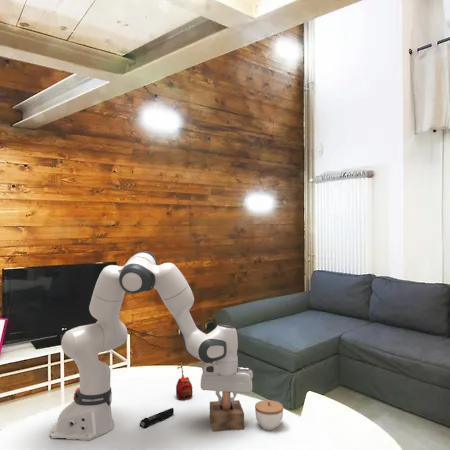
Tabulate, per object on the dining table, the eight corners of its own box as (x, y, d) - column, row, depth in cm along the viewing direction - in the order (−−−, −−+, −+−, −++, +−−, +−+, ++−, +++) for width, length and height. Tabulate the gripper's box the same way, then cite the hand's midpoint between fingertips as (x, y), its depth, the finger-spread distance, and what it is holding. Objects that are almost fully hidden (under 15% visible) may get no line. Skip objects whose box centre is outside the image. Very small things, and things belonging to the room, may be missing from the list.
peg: (222, 413, 150) (222, 387, 151) (222, 410, 153) (222, 384, 154) (230, 413, 150) (230, 387, 151) (230, 410, 153) (230, 384, 154)
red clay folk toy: (179, 402, 171) (180, 367, 172) (172, 396, 177) (173, 363, 178) (195, 398, 175) (195, 364, 176) (187, 393, 181) (187, 360, 182)
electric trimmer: (176, 416, 158) (176, 408, 158) (144, 429, 147) (144, 421, 147) (169, 413, 161) (170, 406, 161) (138, 426, 149) (138, 418, 149)
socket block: (212, 431, 145) (212, 414, 145) (209, 416, 157) (209, 401, 157) (243, 429, 147) (244, 413, 147) (239, 415, 158) (239, 400, 159)
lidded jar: (251, 421, 153) (251, 397, 153) (276, 418, 156) (276, 394, 156) (260, 434, 143) (260, 408, 143) (287, 431, 146) (287, 405, 146)
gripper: (253, 365, 154) (253, 401, 153) (203, 362, 158) (203, 397, 157) (251, 370, 147) (251, 408, 147) (199, 367, 151) (199, 403, 151)
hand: (226, 402), depth 152 cm, fingers closed on peg, 3 cm apart
